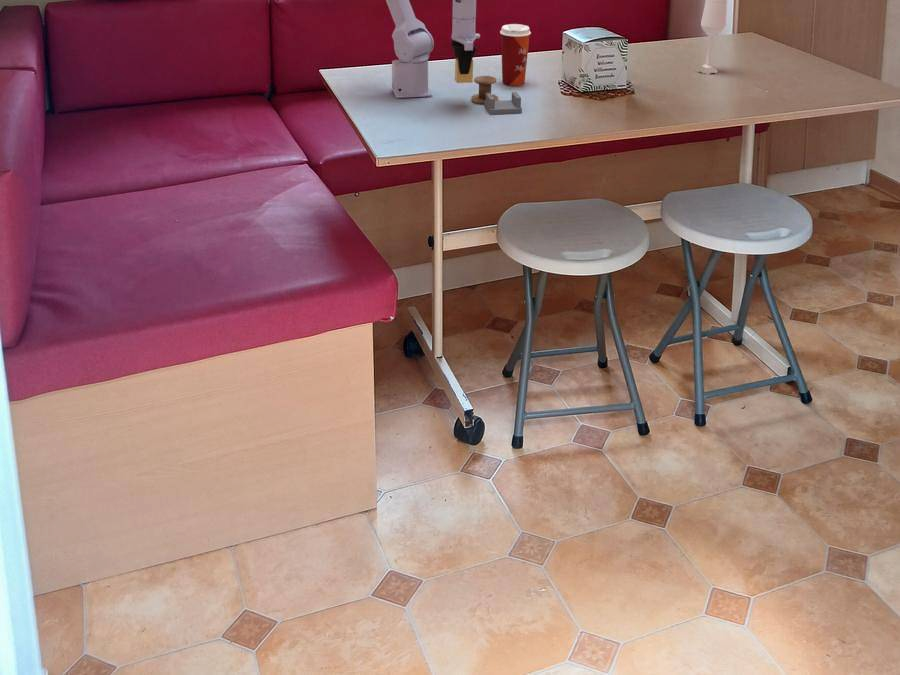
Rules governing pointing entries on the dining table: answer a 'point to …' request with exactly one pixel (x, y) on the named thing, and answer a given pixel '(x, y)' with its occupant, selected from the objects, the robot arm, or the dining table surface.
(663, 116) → the dining table surface
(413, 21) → the robot arm
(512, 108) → the grey cradle
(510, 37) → the coffee cup
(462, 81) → the yellow upright block
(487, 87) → the bobbin
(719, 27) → the champagne flute
